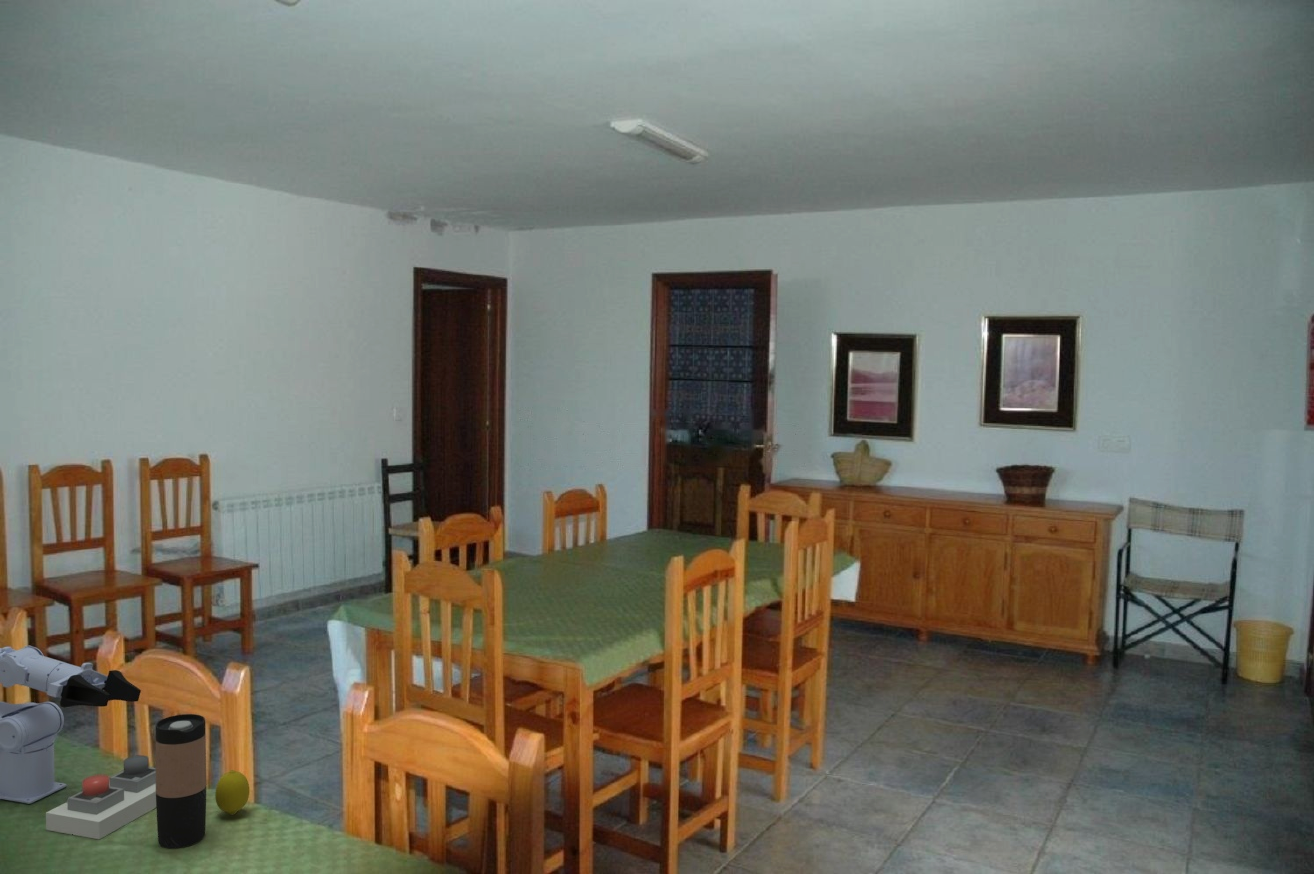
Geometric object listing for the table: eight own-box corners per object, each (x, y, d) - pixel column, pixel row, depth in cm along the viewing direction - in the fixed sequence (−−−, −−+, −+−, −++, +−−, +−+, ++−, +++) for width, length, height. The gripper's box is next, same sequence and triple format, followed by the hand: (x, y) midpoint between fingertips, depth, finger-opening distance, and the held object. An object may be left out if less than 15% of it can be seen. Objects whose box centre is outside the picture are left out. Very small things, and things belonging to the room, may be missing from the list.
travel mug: (171, 826, 170) (169, 712, 168) (215, 828, 170) (214, 714, 168) (146, 848, 162) (145, 729, 161) (193, 850, 162) (191, 730, 161)
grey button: (118, 773, 178) (118, 762, 178) (135, 764, 182) (135, 754, 182) (136, 776, 177) (136, 765, 177) (153, 767, 181) (153, 756, 181)
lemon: (254, 807, 178) (254, 764, 177) (242, 821, 172) (242, 776, 172) (222, 807, 178) (222, 763, 177) (210, 821, 172) (209, 776, 172)
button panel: (46, 829, 168) (45, 801, 167) (132, 784, 186) (132, 758, 186) (99, 839, 165) (98, 810, 165) (182, 792, 183) (181, 766, 183)
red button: (76, 793, 169) (76, 782, 169) (95, 784, 173) (95, 773, 173) (96, 796, 168) (95, 785, 168) (114, 787, 172) (114, 776, 172)
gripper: (33, 659, 172) (98, 679, 169) (96, 654, 186) (157, 672, 183) (22, 700, 171) (87, 720, 168) (85, 691, 185) (146, 710, 182)
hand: (123, 698), depth 175 cm, fingers open, 7 cm apart
